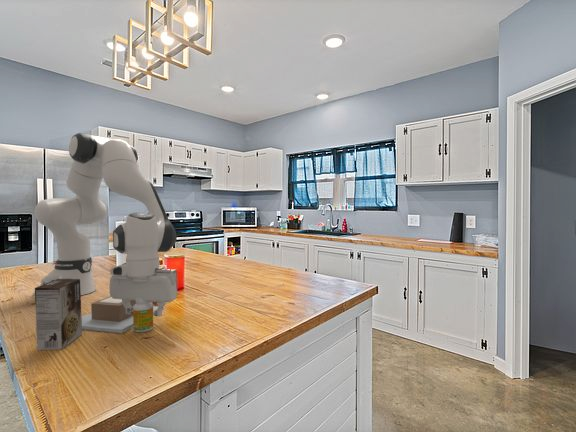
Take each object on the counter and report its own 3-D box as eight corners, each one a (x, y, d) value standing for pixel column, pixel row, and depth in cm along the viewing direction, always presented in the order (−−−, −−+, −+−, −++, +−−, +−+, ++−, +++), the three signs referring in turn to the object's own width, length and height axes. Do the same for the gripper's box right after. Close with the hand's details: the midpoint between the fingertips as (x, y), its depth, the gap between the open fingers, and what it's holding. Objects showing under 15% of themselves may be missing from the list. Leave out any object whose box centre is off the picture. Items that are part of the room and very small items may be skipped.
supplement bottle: (138, 334, 88) (137, 300, 88) (130, 329, 92) (129, 296, 91) (156, 328, 92) (156, 296, 92) (148, 323, 96) (148, 292, 95)
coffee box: (58, 335, 87) (57, 278, 87) (82, 334, 88) (81, 278, 87) (35, 350, 78) (33, 287, 78) (62, 349, 79) (60, 286, 78)
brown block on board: (63, 327, 93) (63, 306, 93) (114, 305, 112) (113, 288, 112) (122, 333, 89) (121, 311, 89) (163, 309, 108) (163, 292, 108)
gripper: (181, 267, 92) (181, 313, 93) (121, 264, 96) (122, 308, 97) (168, 271, 86) (169, 321, 87) (105, 268, 90) (106, 316, 91)
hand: (143, 314), depth 92 cm, fingers open, 8 cm apart
